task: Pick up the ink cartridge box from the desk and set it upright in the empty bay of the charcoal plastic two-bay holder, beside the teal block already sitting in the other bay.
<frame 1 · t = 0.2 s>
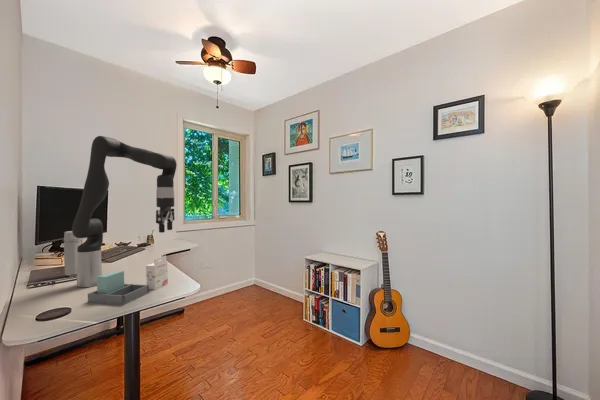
hand: (165, 231, 122), 27 cm above the table, tool pointing down, fingers open, 8 cm apart
ink cartridge box: (157, 287, 124), on the table
water bottle: (75, 275, 146), on the table
cartridge holder: (119, 298, 111), on the table
teal block: (111, 296, 111), point 1 cm above the table, touching cartridge holder
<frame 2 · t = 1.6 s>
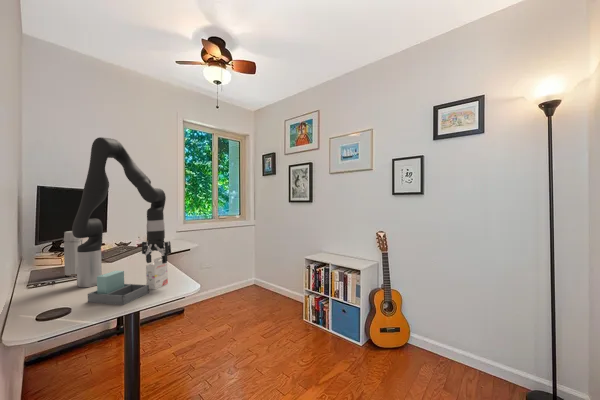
hand: (156, 263, 124), 12 cm above the table, tool pointing down, fingers open, 8 cm apart
nothing on the table moved.
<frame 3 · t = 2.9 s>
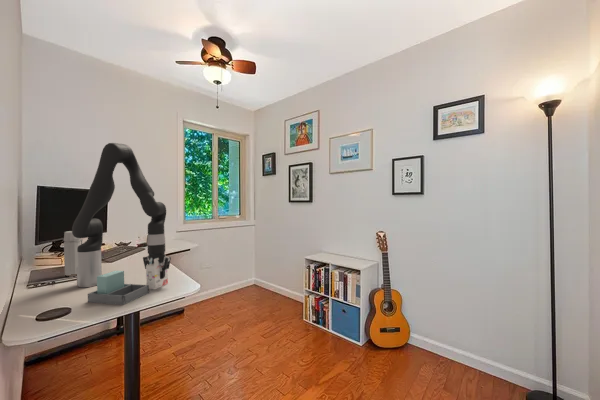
hand: (157, 277, 124), 4 cm above the table, tool pointing down, fingers closed on ink cartridge box, 5 cm apart
ink cartridge box: (157, 287, 124), on the table, touching gripper
everything else where it was.
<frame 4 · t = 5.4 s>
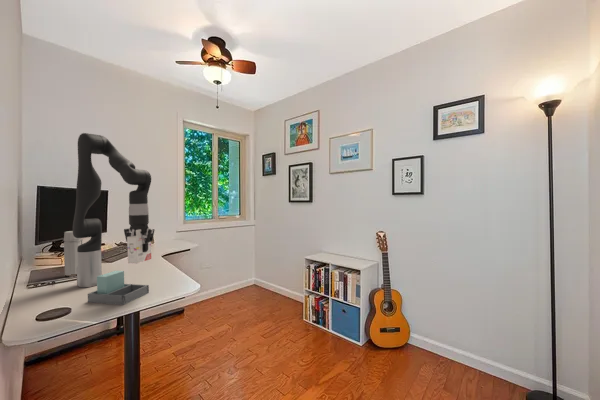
hand: (139, 251, 115), 19 cm above the table, tool pointing down, fingers closed on ink cartridge box, 5 cm apart
ink cartridge box: (139, 261, 115), point 15 cm above the table, touching gripper
everything else where it was.
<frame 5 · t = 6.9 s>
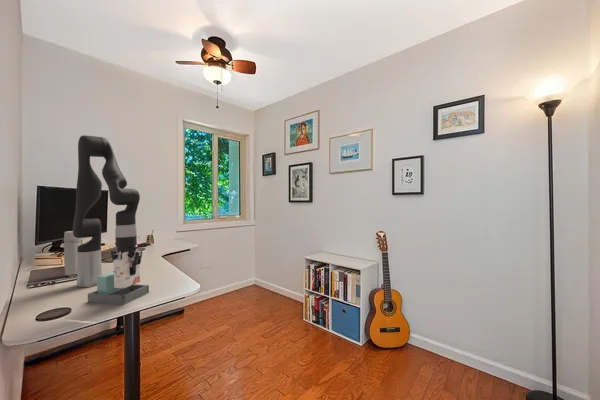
hand: (127, 274, 110), 11 cm above the table, tool pointing down, fingers closed on ink cartridge box, 5 cm apart
ink cartridge box: (127, 285, 110), point 6 cm above the table, touching gripper
everything else where it was.
when the fingers open (7 cm above the table, at t = 8.0 s): ink cartridge box drops 2 cm, resting on cartridge holder.
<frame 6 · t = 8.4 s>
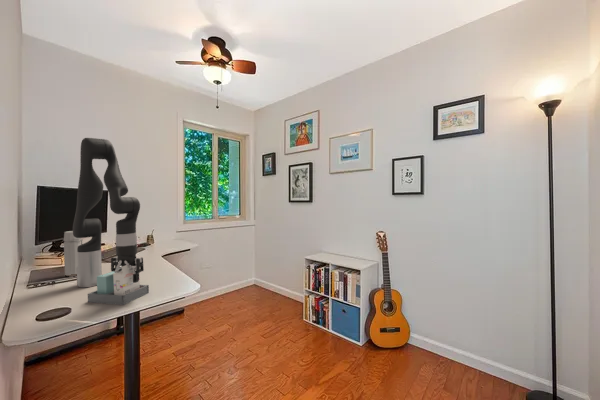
hand: (127, 281, 110), 8 cm above the table, tool pointing down, fingers open, 8 cm apart
ink cartridge box: (127, 298, 110), resting on cartridge holder
teal block: (111, 296, 111), point 1 cm above the table, touching cartridge holder, gripper
everything else where it was.
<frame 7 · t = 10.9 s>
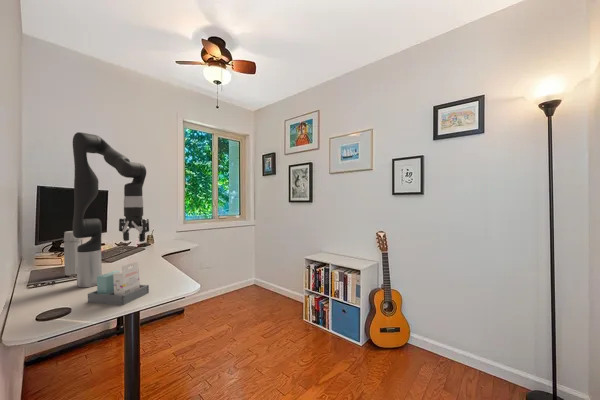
hand: (134, 241, 118), 23 cm above the table, tool pointing down, fingers open, 8 cm apart
teal block: (111, 296, 111), point 1 cm above the table, touching cartridge holder
everything else where it was.
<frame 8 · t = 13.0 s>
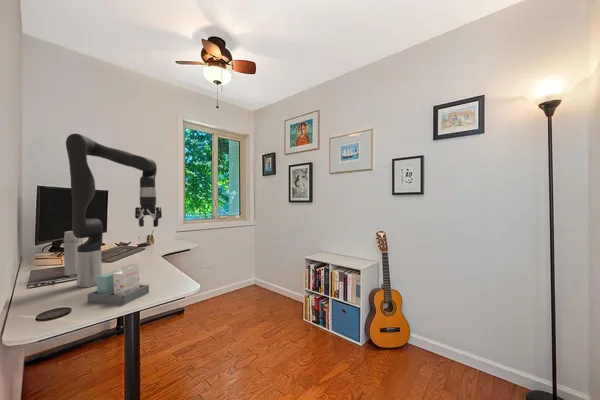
hand: (148, 226, 136), 28 cm above the table, tool pointing down, fingers open, 8 cm apart
nothing on the table moved.
at the end: ink cartridge box 0.3 cm from the target spot on the cartridge holder, point 0.4 cm above the cartridge holder's base; ink cartridge box tilted 0°; the gripper is holding nothing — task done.
